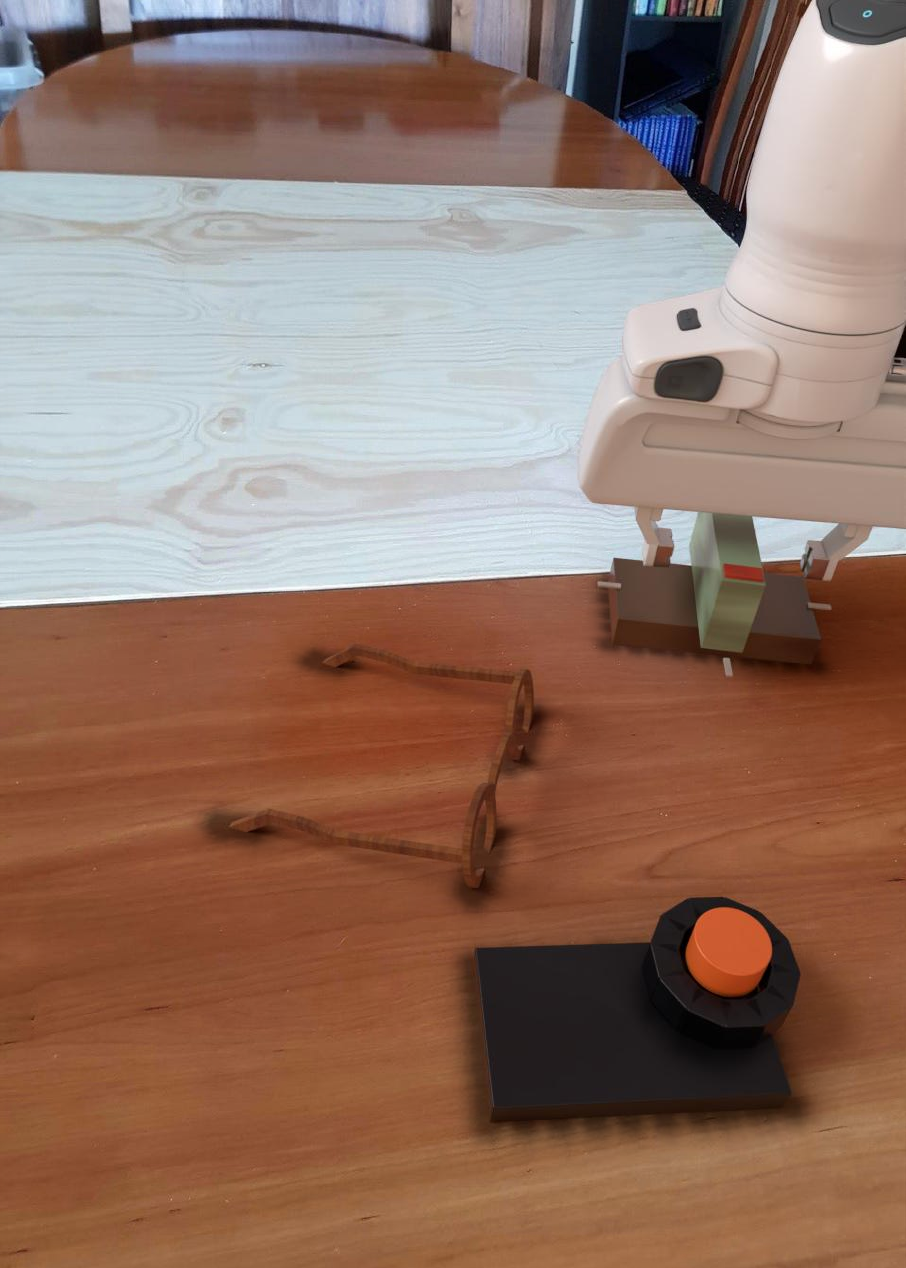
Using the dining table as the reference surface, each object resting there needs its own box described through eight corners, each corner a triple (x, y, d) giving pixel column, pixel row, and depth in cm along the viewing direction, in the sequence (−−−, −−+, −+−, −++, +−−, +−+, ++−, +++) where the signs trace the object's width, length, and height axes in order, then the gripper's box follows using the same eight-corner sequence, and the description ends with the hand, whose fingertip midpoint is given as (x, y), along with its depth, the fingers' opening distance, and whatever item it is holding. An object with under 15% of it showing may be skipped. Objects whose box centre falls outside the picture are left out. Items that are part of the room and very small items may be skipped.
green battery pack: (688, 545, 68) (707, 476, 65) (726, 549, 68) (747, 480, 65) (700, 648, 61) (722, 576, 57) (742, 653, 61) (767, 581, 57)
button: (748, 929, 46) (759, 905, 45) (770, 996, 44) (783, 973, 42) (676, 931, 46) (685, 907, 44) (695, 999, 43) (705, 976, 42)
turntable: (795, 575, 72) (809, 537, 70) (838, 726, 61) (856, 687, 59) (586, 554, 72) (594, 515, 70) (593, 702, 61) (602, 661, 59)
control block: (749, 944, 50) (772, 894, 47) (806, 1117, 44) (836, 1070, 41) (468, 953, 48) (476, 902, 45) (487, 1133, 42) (497, 1086, 39)
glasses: (475, 912, 50) (485, 847, 46) (218, 838, 52) (210, 771, 49) (534, 721, 59) (547, 656, 56) (316, 666, 61) (315, 599, 58)
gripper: (984, 339, 56) (896, 550, 65) (597, 307, 56) (563, 522, 65) (1026, 398, 51) (925, 616, 60) (603, 363, 51) (565, 586, 60)
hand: (734, 567), depth 63 cm, fingers open, 8 cm apart
